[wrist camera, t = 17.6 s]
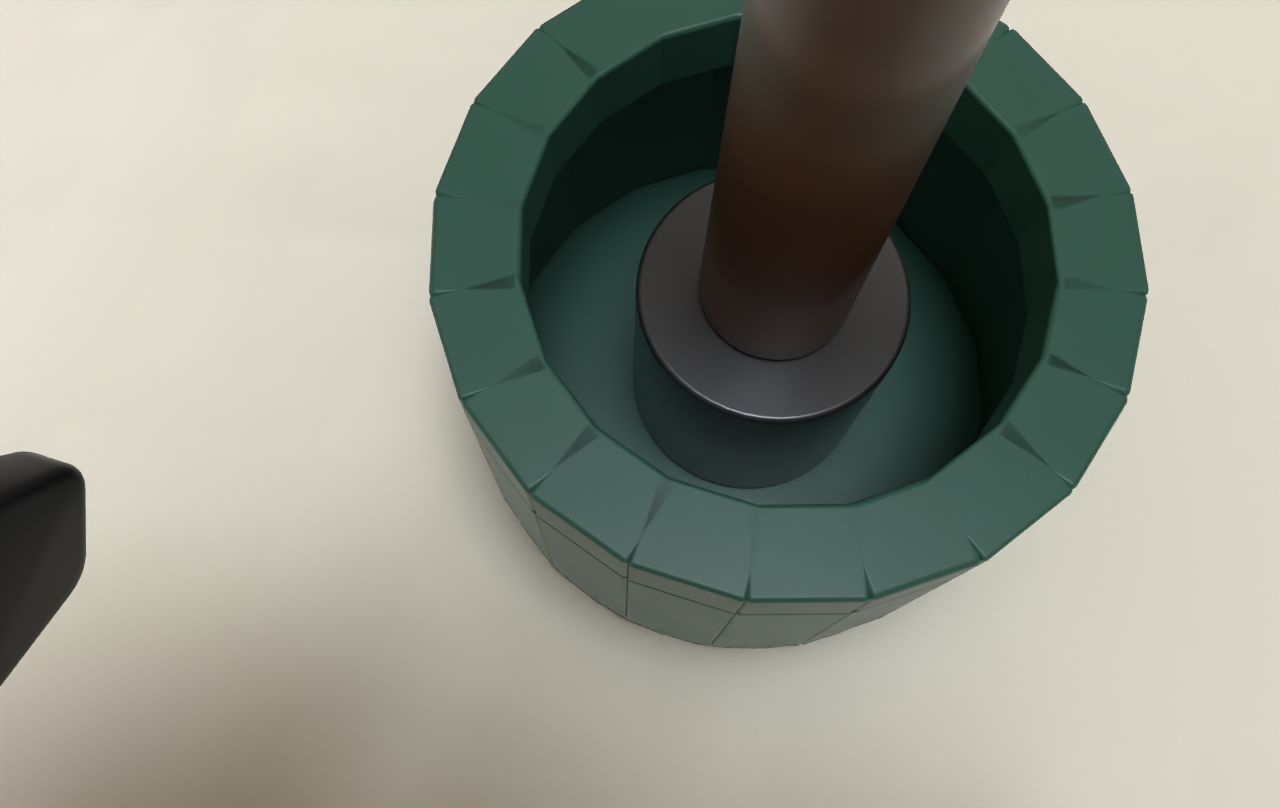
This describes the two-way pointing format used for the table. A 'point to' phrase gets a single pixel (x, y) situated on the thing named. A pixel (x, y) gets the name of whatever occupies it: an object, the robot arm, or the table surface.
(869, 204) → the brown cylinder with base
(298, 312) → the table surface
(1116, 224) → the round container
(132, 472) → the table surface
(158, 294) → the table surface
